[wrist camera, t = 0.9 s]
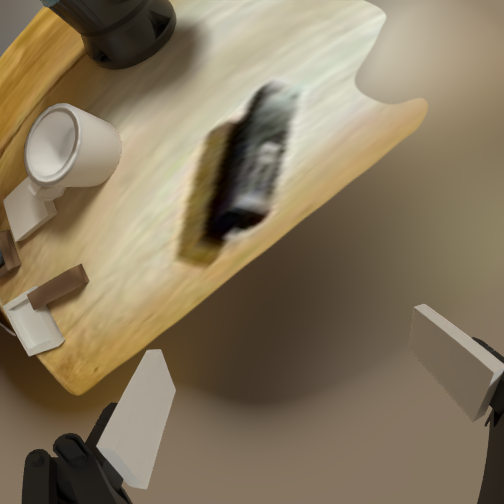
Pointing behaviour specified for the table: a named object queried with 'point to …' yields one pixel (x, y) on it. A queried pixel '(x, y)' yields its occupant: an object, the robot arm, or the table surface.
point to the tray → (33, 325)
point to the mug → (69, 151)
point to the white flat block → (27, 211)
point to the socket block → (8, 254)
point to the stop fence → (58, 287)
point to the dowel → (1, 258)
